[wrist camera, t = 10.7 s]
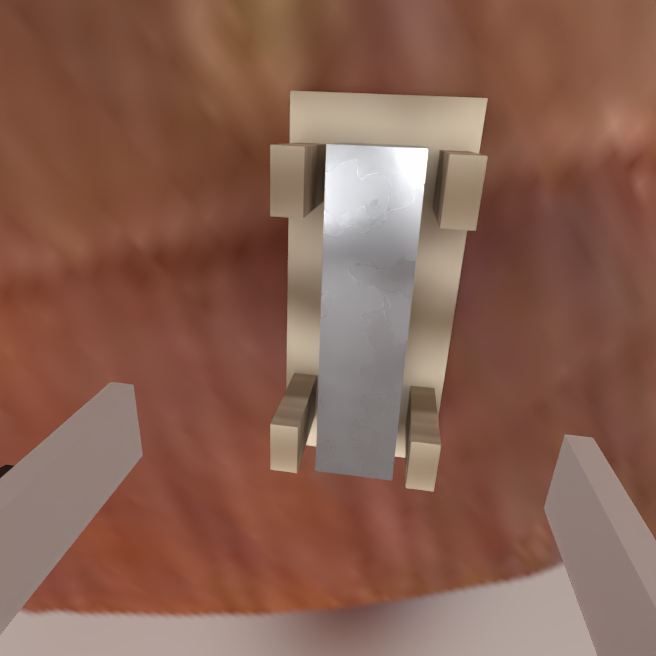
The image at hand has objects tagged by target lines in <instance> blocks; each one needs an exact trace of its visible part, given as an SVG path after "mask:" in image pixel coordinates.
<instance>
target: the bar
mask: <svg viewBox="0 0 656 656" xmlns="http://www.w3.org/2000/svg"><path fill="white" fill-rule="evenodd" d="M427 157H428V148H427V147H425V146H408V145H385V144H362V143H331V144H326V172H325V201H324V231H323V261H322V291H321V320H320V350H319V380H318V409H317V439H316V469H315V471H321V472H329V473H337V474H345V475H353V476H361V477H368V478H376V479H384V480H392V477H393V468H394V459H395V450H396V441H397V431H398V422H399V413H400V404H401V395H402V386H403V377H404V367H405V358H406V349H407V340H408V331H409V322H410V313H411V303H412V294H413V285H414V276H415V267H416V258H417V249H418V239H419V230H420V221H421V212H422V203H423V194H424V185H425V175H426V166H427Z"/></svg>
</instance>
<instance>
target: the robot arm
mask: <svg viewBox="0 0 656 656" xmlns="http://www.w3.org/2000/svg"><path fill="white" fill-rule="evenodd" d="M142 456H143V454H142V446H141V439H140V431H139V424H138V416H137V409H136V401H135V394H134V386H133V385H132V384H123V383H115V382H110V383H109V384H108V385H107V386H106V387H104V388H103V389H102V390H101V391H100V392H99V393H98V394H96V395H95V396H94V397H93V398H92V399H91V400H90V401H88V402H87V403H86V404H85V405H84V406H83V407H82V408H80V409H79V410H78V411H77V412H76V413H75V414H74V415H72V416H71V417H70V418H69V419H68V420H67V421H65V422H64V423H63V424H62V425H61V426H60V427H59V428H57V429H56V430H55V431H54V432H53V433H52V434H51V435H49V436H48V437H47V438H46V439H45V440H44V441H43V442H41V443H40V444H39V445H38V446H37V447H36V448H35V449H33V450H32V451H31V452H30V453H29V454H28V455H27V456H25V457H24V458H23V459H22V460H21V461H20V462H18V463H17V464H16V465H15V466H13V465H5V466H3V467H1V468H0V634H1V633H2V632H3V631H4V629H5V628H6V627H7V626H8V624H9V623H10V622H11V621H12V619H13V618H14V617H15V616H16V614H17V613H18V612H19V611H20V609H21V608H22V607H23V606H24V604H25V603H26V602H27V600H28V599H29V598H30V597H31V595H32V594H33V593H34V592H35V590H36V589H37V588H38V587H39V585H40V584H41V583H42V582H43V580H44V579H45V578H46V577H47V575H48V574H49V573H50V571H51V570H52V569H53V568H54V566H55V565H56V564H57V563H58V561H59V560H60V559H61V558H62V556H63V555H64V554H65V553H66V551H67V550H68V549H69V548H70V546H71V545H72V544H73V543H74V541H75V540H76V539H77V537H78V536H79V535H80V534H81V532H82V531H83V530H84V529H85V527H86V526H87V525H88V524H89V522H90V521H91V520H92V519H93V517H94V516H95V515H96V514H97V512H98V511H99V510H100V508H101V507H102V506H103V505H104V503H105V502H106V501H107V500H108V498H109V497H110V496H111V495H112V493H113V492H114V491H115V490H116V488H117V487H118V486H119V485H120V483H121V482H122V481H123V479H124V478H125V477H126V476H127V474H128V473H129V472H130V471H131V469H132V468H133V467H134V466H135V464H136V463H137V462H138V461H139V459H140V458H141V457H142ZM544 511H545V513H546V516H547V519H548V522H549V524H550V527H551V530H552V532H553V535H554V538H555V541H556V543H557V546H558V549H559V551H560V554H561V557H562V560H563V562H564V565H565V568H566V570H567V573H568V576H569V579H570V581H571V584H572V587H573V589H574V592H575V595H576V598H577V600H578V603H579V606H580V608H581V611H582V614H583V617H584V619H585V622H586V624H587V628H588V630H589V633H590V636H591V639H592V641H593V644H594V647H595V649H596V652H597V655H598V656H656V540H655V539H654V537H653V535H652V534H651V532H650V530H649V529H648V527H647V526H646V524H645V522H644V521H643V519H642V517H641V516H640V514H639V512H638V511H637V509H636V507H635V506H634V504H633V503H632V501H631V499H630V498H629V496H628V494H627V493H626V491H625V489H624V488H623V486H622V484H621V483H620V481H619V480H618V478H617V476H616V475H615V473H614V471H613V470H612V468H611V466H610V465H609V463H608V462H607V460H606V458H605V457H604V455H603V453H602V452H601V450H600V448H599V447H598V445H597V443H596V442H595V440H594V439H593V438H591V437H582V436H574V435H565V436H564V439H563V443H562V446H561V450H560V453H559V457H558V460H557V464H556V467H555V471H554V475H553V478H552V482H551V485H550V489H549V492H548V496H547V499H546V503H545V506H544Z"/></svg>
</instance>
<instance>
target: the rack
mask: <svg viewBox="0 0 656 656" xmlns="http://www.w3.org/2000/svg"><path fill="white" fill-rule="evenodd" d="M487 99H488V98H469V97H443V96H417V95H391V94H365V93H339V92H313V91H290V143H286V144H273V145H270V216H274V217H288V218H289V227H288V304H287V380H286V392H285V394H284V396H283V398H282V400H281V402H280V405H279V407H278V409H277V411H276V413H275V415H274V418H273V420H272V422H271V424H270V445H271V470H278V471H285V472H293V473H297V471H298V468H299V465H300V461H301V458H302V455H303V452H304V449H305V446H306V445H310V446H316V439H317V409H318V380H319V350H320V320H321V291H322V261H323V231H324V201H325V172H326V144H331V143H362V144H385V145H408V146H425V147H427V148H428V157H427V166H426V175H425V185H424V194H423V203H422V212H421V221H420V230H419V239H418V249H417V258H416V267H415V276H414V285H413V294H412V303H411V313H410V322H409V331H408V340H407V349H406V358H405V367H404V377H403V386H402V395H401V404H400V413H399V422H398V431H397V441H396V450H395V456H396V457H404V458H405V466H406V488H411V489H419V490H426V491H433V492H434V486H435V480H436V474H437V468H438V462H439V455H440V449H441V439H440V431H439V422H438V416H439V409H440V403H441V396H442V390H443V383H444V377H445V370H446V364H447V358H448V351H449V345H450V338H451V332H452V325H453V319H454V312H455V306H456V299H457V293H458V286H459V280H460V273H461V267H462V260H463V254H464V248H465V241H466V235H467V230H472V231H476V226H477V220H478V214H479V208H480V201H481V195H482V189H483V183H484V177H485V171H486V164H487V158H488V156H485V155H481V154H479V150H480V144H481V138H482V131H483V125H484V118H485V112H486V105H487Z"/></svg>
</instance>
